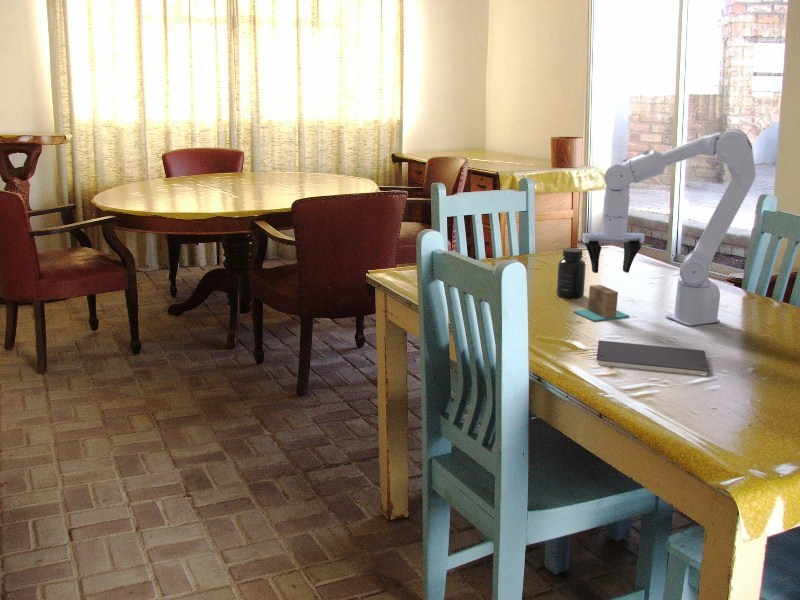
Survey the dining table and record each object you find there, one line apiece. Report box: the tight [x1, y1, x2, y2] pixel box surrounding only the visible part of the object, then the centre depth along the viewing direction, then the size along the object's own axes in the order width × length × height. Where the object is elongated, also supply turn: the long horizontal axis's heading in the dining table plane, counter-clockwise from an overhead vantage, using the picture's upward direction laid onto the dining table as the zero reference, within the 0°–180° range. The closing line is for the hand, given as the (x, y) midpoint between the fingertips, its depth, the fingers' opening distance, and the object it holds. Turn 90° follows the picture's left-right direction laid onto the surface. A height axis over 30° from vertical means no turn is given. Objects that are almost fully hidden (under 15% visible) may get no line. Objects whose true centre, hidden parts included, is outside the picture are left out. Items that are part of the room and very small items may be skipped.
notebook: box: [595, 340, 710, 375], centre depth 173 cm, size 13×2×21 cm
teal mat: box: [573, 308, 630, 322], centre depth 203 cm, size 10×8×1 cm
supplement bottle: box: [556, 247, 586, 300], centre depth 218 cm, size 7×7×12 cm
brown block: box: [587, 284, 619, 318], centre depth 202 cm, size 7×3×6 cm, turn 22°
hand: (610, 271), depth 205 cm, fingers open, 7 cm apart
